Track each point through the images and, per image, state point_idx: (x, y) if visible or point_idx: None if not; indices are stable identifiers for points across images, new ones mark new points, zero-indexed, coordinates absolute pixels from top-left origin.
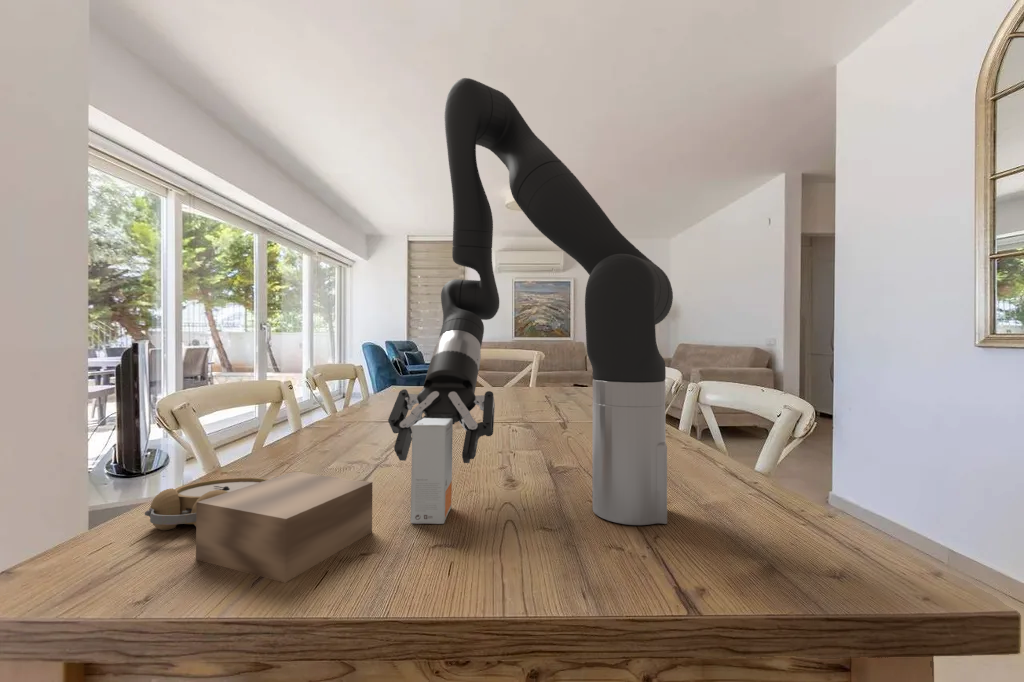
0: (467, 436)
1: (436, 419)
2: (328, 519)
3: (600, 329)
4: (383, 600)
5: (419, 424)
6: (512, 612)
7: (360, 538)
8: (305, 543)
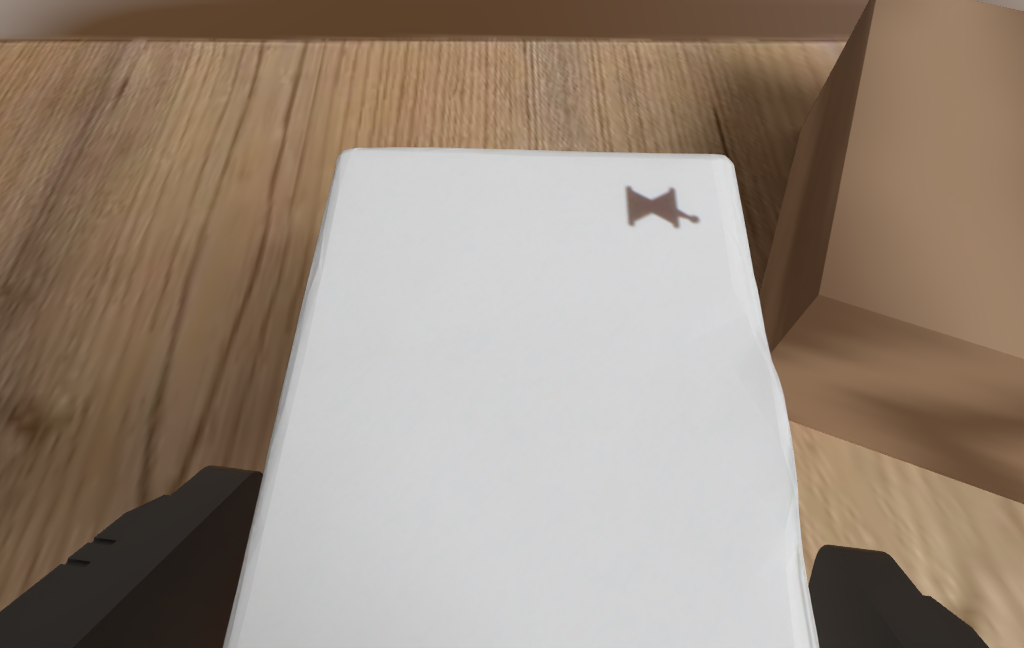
0: (103, 585)
1: (506, 621)
2: (825, 142)
3: None
4: (546, 77)
5: (660, 173)
6: (288, 48)
7: None
8: (822, 113)
